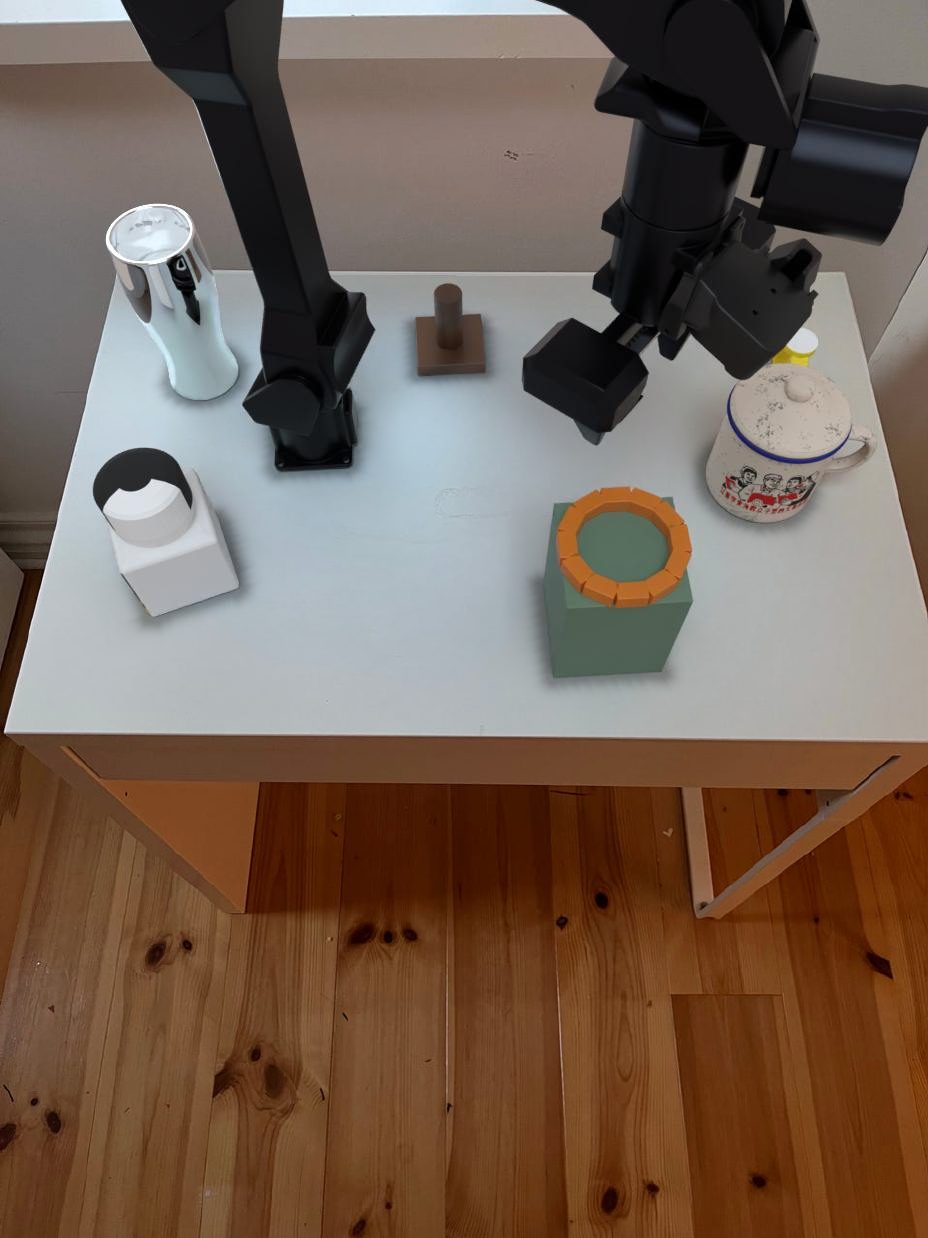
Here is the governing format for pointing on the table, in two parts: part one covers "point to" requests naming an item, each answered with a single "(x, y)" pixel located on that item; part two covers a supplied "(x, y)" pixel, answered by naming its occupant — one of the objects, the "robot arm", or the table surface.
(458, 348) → the stand
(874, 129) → the robot arm
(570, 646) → the block
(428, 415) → the table surface
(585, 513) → the ring
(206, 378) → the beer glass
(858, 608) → the table surface
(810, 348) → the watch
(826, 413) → the teacup with lid
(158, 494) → the medicine bottle
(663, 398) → the table surface
